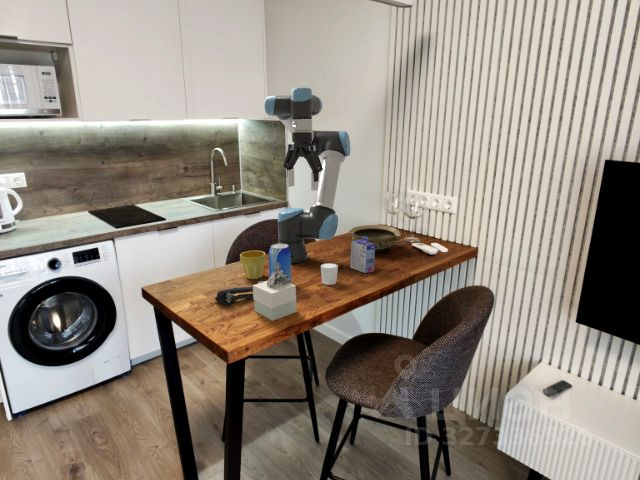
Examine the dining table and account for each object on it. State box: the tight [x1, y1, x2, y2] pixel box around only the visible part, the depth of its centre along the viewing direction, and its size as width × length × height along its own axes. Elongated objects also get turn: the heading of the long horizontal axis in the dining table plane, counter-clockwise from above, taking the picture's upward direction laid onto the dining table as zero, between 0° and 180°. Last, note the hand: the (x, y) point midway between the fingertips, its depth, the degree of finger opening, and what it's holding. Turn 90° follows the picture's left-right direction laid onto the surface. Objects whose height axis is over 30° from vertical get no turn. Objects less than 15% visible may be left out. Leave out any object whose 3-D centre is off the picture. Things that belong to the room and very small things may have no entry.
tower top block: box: [252, 280, 297, 308], centre depth 142 cm, size 10×10×5 cm
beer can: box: [268, 243, 292, 284], centre depth 166 cm, size 8×8×16 cm
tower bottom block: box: [253, 299, 297, 322], centre depth 144 cm, size 10×10×5 cm
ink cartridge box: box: [349, 236, 376, 274], centre depth 184 cm, size 10×6×14 cm, turn 38°
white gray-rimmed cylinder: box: [320, 262, 339, 286], centre depth 170 cm, size 7×7×7 cm
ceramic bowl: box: [347, 224, 403, 253], centre depth 212 cm, size 30×24×10 cm
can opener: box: [214, 286, 254, 305], centre depth 153 cm, size 18×7×6 cm, turn 117°
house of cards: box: [257, 262, 290, 289], centre depth 143 cm, size 9×9×8 cm
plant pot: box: [239, 250, 267, 280], centre depth 176 cm, size 10×10×10 cm
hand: (302, 188), depth 166 cm, fingers open, 13 cm apart
